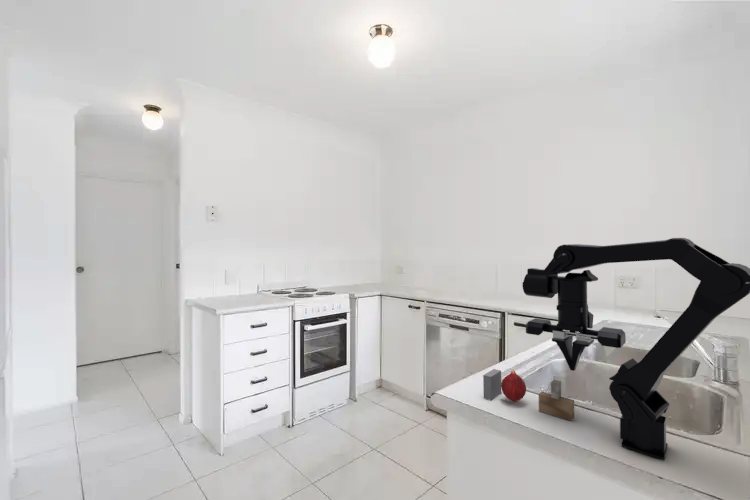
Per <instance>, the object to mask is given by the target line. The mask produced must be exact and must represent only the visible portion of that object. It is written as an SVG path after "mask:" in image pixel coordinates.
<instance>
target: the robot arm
mask: <svg viewBox="0 0 750 500" xmlns="http://www.w3.org/2000/svg"><path fill="white" fill-rule="evenodd" d="M552 256H553V258H552V259H551V260H550V262H549V263H548V264H547V265H546V267H544V269H540V268H534V267H531V268H527V270H526V271H527V272H526V274H525V276H524V278H523V282H522V284H521V285H522V290H523V293H524V294H525V295H526V296H528V297H529V296H530V297H536V298H537V297H539V298H547V299H552V298H554V296H556V295H557V305H556V311H557V323H556V324H552V322H551V320H550V319H543V318H537V317H535V318H532V319H531V320H528V321H527V322H526V324H525V333H526V334H527V335H534V336H540V335H541V334H543V332H544V333H552V338H551V342H554V343H556V344H557V346H558V348H559V350H560V351H561V353H562V356H564V360H565V361H566V364H567V366H568V368H569V370H570V371H573V372H575V371H576V370H577V368H578V365H579V362H580V360H581V357H582V354H583V352H584V350H585V349H586V348H589V347H591V345H593V344H594V343H595V340H597V342H598V344H600V345H601V346H602V347H603V346H604V347H609V348H616V349H621V348H623V346H624V345H625V344H626V343H627V342H626V338H627V337H626V332H625V331H624V330H623V329H622V328H612V327H607V326H603V327H602V328H600V329H599V330H593V326H594V325H593V324H594V314H593V313H592V312H590V311H589V305H588V283H592V282H596V281H598V280H599V277H597V276H596V275H595V274H593V273H592V272H591V270H590V269H588V268H591V267H596V266H600V265H603V264H604V265H605V264H614V263H616V264H617V263H629V262H632V263H633V262H644V261H645V262H646V261H648V262H649V261H661V260H664V261H665V260H666V261H667V260H672V262H674V263H676V264H677V265H678V266H680V268H682V269H684V270H685V271H686V272H687V273H688V274H690V275H691V276H692V277H694V278H696V279H697V280H698V281H699V284H698V285H697V287H696V289H695V291H694V294H693V296H692V298H691V300H690V303H689V305H688V306H687V307H686V309H684V311H683V312H682V313H681V314H680V315H679V317H678V318H676V320H675V321H674V322H673V323H672V325H671V326H670V327H669V328H668V329H667V330H666V331H665V333H664V334H663V335H662V336H661V337H660V338H659V340H658V341H657V342H656V343H655V344H654V345H653V346H652V348H651V349H650V350H649V351H648V352H647V353H646V354H645V356H644V357H643V358H642V359H641V360H640V361H639V362H638V361H636V360H635V359H634V358H630V359H628V360H627V361H625V362H623V363H622V364H621V365H620V366H619V368H618V370H617V371H616V373H615V374H613V375H612V376H610V377H609V378H608V379H609V380H610V381H611V382H610V384H609V387H608V389H609V393H610V395H611V397H612V399H613V400H614V401H615V403H617V406H618V407H619V411H620V414H621V415H620V419H619V429H620V430H619V438H620V439H621V440H622V442H621V444H620V445H621V447H623V448H624V449H625V448H626V449H629V450H632V451H634V452H638V453H641V454H644V455H647V456H650V457H653V458H656V459H660V460H665V459H666V456H667V455H666V454H667V450H668V447H669V444H668V443H667V417H666V416H663V415H664V414H666V413H667V411H668V409H669V407H670V402H668V400H666V398H664V397H663V395H662V394H661V393H660V392H659V391H658V388H659V386H660V384H661V382H662V380H663V377H664V375H665V373H666V372H667V370H669V368H671V366H672V365H673V364H674V363H675V362H676V361H677V360H678V358H680V356H681V355H682V354H683V353H684V352H685V351H686V350H687V349H688V348H690V346H691V345H692V344H693V343H694V342H695V340H697V338H698V337H699V336H700V335H701V334H702V333H703V332H704V331H705V330H706V329H707V327H708V326H709V325H710V324H712V322H713V321H715V319H716V318H717V317H718V316H720V315H721V314H723V313H724V312H725V311H727V310H728V309H730V308H732V307H733V306H734V305H735V304H737V303H739V302H740V301H741V300H744V298H746V297H747V296H748V295H750V267H748V266H747V265H744V264H741V263H735V262H734V263H730V262H729V261H728V260H727V261H726V260H725V259H723V258H722V257H720V256H718V255H716V254H714V253H712V252H710V251H709V250H707V249H705V248H703V247H701V246H699V245H697V244H695V242H694V241H692V240H691V239H690V238H686V237H671V238H669V239H662V240H653V241H652V240H651V241H641V242H633V243H622V244H613V245H598V244H597V245H595V244H594V245H593V244H581V243H580V244H579V243H577V244H562V245H559V246H558V247H557V248H556V249H555V250H554V253H553V255H552ZM583 269H585V270H583ZM575 270H583V271H582V272H572V271H575ZM566 273H567V274H566ZM560 274H566V275H565V276H561V275H560ZM559 275H560V276H559ZM574 337H575V339H576V340H574V341H573V339H574Z"/></svg>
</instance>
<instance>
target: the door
mask: <svg viewBox="0 0 750 500" xmlns="http://www.w3.org/2000/svg"><path fill="white" fill-rule="evenodd" d="M538 412H542V413H544V414H547V415H551V416H554V417H557V418H560V419H564V420H566V421H567V420H568V421H570V422H572V421H573V420H575V400H574V399H571V398H567V397H564V396H562V381H561V380H560V381H559V380H557V379H553V380H552V381H551V383H550V393H549V392H545V391H540V392H539V393H538Z"/></svg>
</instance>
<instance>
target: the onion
mask: <svg viewBox="0 0 750 500" xmlns="http://www.w3.org/2000/svg"><path fill="white" fill-rule="evenodd" d="M526 392H527V386H526V383H525V380H523V378H522V377H521V376H520V375H519V374H517V372H516V370H514V369H512V370H511V371H510V373H509V374H508V375H505V376H504V378H503V379H501V393H503V395H504V396H505V397H506V399H508V400H509V401H510V402H512V403H517V402H518V401H520V400H522V399H523V398H524V397H525V395H526Z"/></svg>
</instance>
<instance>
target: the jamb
mask: <svg viewBox="0 0 750 500" xmlns="http://www.w3.org/2000/svg"><path fill="white" fill-rule="evenodd" d="M482 376H483V379H482V380H483V383H482V384H483V399H485V400H488V401H493V400H494V399H496V397H498V396H499V395H501V394H502V387H501V383H502V370H500V369H495V368H493V369H491V370H490V371H488V372H486V373H484V374H483V375H482Z"/></svg>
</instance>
